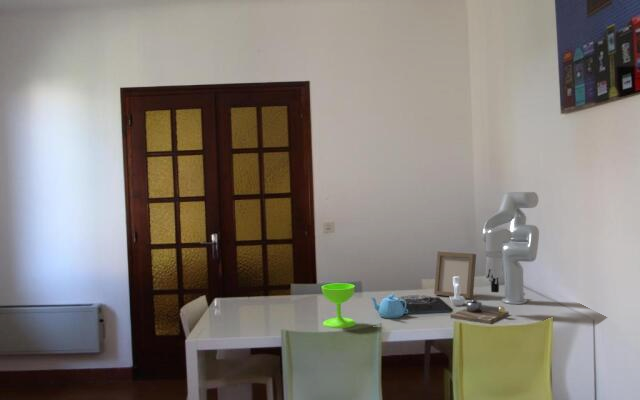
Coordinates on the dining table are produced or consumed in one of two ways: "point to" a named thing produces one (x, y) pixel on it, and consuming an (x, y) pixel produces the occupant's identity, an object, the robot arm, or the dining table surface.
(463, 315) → the stand board
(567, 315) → the dining table surface
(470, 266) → the photo frame
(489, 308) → the grey metal elongated piece
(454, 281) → the figurine
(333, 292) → the wineglass
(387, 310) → the teapot
